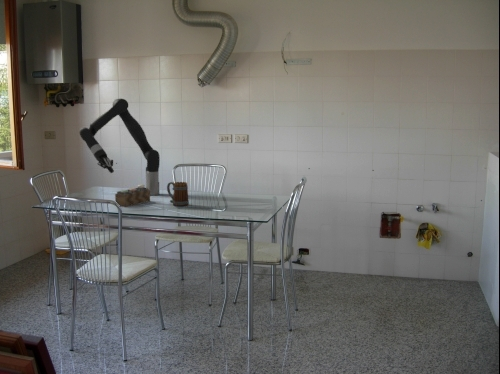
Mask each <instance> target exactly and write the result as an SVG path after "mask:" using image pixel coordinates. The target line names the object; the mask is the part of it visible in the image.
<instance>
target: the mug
mask: <svg viewBox="0 0 500 374" xmlns="http://www.w3.org/2000/svg"><path fill="white" fill-rule="evenodd" d="M171 185H172V187H173V188H172V191H173V194H172V193H171V189H170V187H171ZM188 189H189V187H188V182H185V181H183V182H182V181H176V182H175V181H173V182H172V181H170V182H168V183H167V185H166V190H167V193H168V196H170V198H171V199H170V200H169V202H170V204H172V205H173V206H174V207H180V208H181V207H182V208H183V207H188V205H189V204H190V203H189V201H190V200H189V190H188Z"/></svg>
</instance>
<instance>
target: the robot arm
mask: <svg viewBox="0 0 500 374" xmlns="http://www.w3.org/2000/svg"><path fill="white" fill-rule="evenodd" d="M117 116H119V118H120V119H121V121H122V122H123V124H124V125H125V128H126V129H127V131H128V133H129V134H130V136H131V137H132V139H133V140H134V142H135V143H136V144H137V146H138V147H139V148H140V151H141V152H142V155H143V157H144V158H145V160H146V166H145V188H148V190H150V196H159V195H160V179H159V177H160V176H159V174H160V173H159V171H160V170H159V169H160V161H161V160H160V159H161V158H160V153H159V151H157V150H156V149H154V148H153V147H152V146H151V144H150V143H149V141H148V139H147V136H146V132H145V131H144V129H143V127H142V126H141V125H140V122H139V121H137V120H136V118H135V117H133V116H132V114H131V113H130V111H129V102H128V101H127V100H126V99H124V98H116V99H114V100H113V101H112V107H110V108H109V109H108V110H107V111H105V112H104V113H102V114H100V115H99V116H98V117H97V118H95V119H94V120H93V121H91V123H90V124H89V127H81V128H80V129H79V136H80V137H81V139H82V140H83V141H84V142H85V143H86V146H87V148H88V149H89V150H90V152H91V154H92V155H93V157H94V158H95V160H96V161H98V162H97V165H98V166H99V167H101V168H103V169H104V170H105V169H106V170H108V172H109V173H110V174H112V173H114V168H113V166H114V160H113V159H110V158H109V157H108V154H107V153H106V151H105V149H104V148H103V147H102V146H101V145H100V143H99V142H98V140H97V139H96V138H95V136H96V135H97V133H98V132H99V131H100V130H101V129H103V127H105V126H106V125H107V124H108V123H109V122H111V121H112V120H113V119H115V118H116V117H117Z"/></svg>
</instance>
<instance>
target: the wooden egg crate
mask: <svg viewBox="0 0 500 374" xmlns="http://www.w3.org/2000/svg"><path fill="white" fill-rule="evenodd" d="M133 189H137V190H135V191H130V190H129V189H127V190H128V192H125V193H124V192H121V190H119V191H116V193H115V194H114V196H115V197H114V199H115V201H116V202H117V203H118V204H119V205H120V206H119V207H123V208H124V207H129V206H130V207H131V206H135V205H139V204H143V203H147V202H151V195H150V190H148V188H146V187H145V188H143V189H139V188H138V187H135V188H133Z"/></svg>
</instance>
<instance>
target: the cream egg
mask: <svg viewBox="0 0 500 374" xmlns="http://www.w3.org/2000/svg"><path fill="white" fill-rule="evenodd" d="M137 188H139V189H143V188H146V184H137Z"/></svg>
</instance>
